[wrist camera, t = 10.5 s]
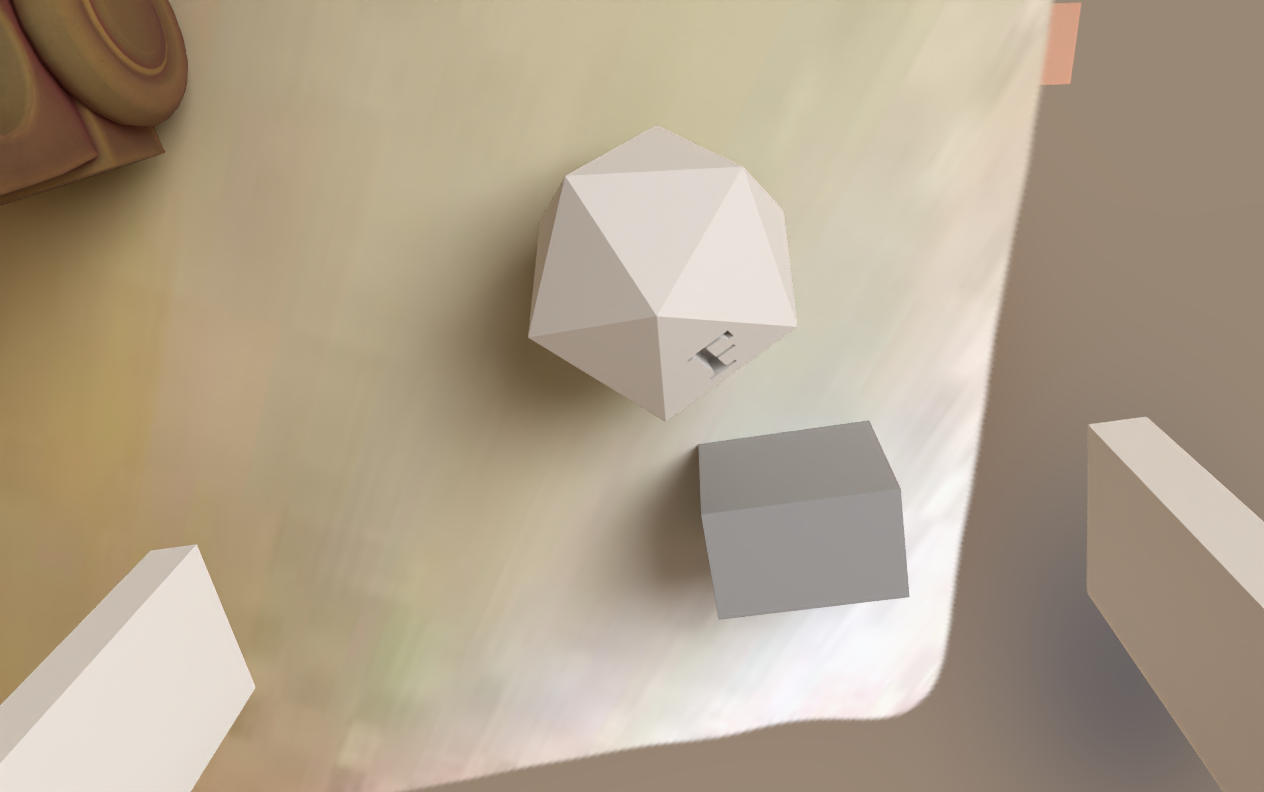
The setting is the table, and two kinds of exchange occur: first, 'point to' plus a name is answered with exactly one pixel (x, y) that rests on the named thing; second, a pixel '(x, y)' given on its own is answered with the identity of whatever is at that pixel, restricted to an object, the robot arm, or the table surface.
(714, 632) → the table surface
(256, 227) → the table surface
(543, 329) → the die
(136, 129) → the wooden toy train
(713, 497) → the gray rectangular block
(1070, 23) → the salmon pink block
